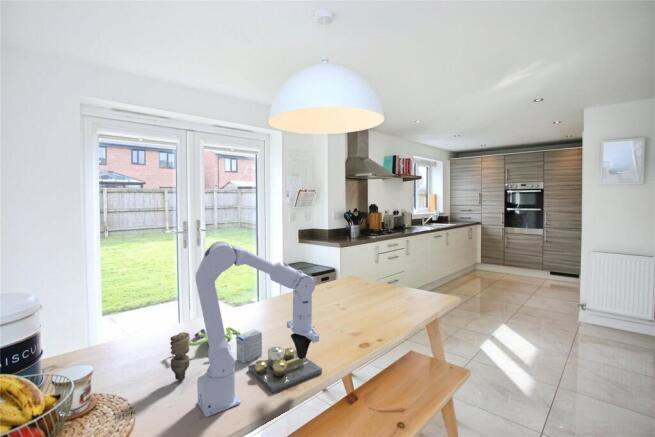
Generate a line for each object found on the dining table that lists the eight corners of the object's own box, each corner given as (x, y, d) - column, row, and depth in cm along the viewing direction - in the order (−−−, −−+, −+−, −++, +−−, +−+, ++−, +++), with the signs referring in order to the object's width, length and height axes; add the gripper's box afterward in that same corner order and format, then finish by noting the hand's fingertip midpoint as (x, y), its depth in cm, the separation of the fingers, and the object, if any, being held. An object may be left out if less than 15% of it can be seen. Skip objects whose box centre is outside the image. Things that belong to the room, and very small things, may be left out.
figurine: (166, 363, 112) (165, 347, 111) (201, 331, 138) (201, 319, 138) (218, 365, 110) (218, 349, 110) (244, 333, 137) (243, 320, 137)
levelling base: (272, 393, 94) (272, 371, 93) (248, 370, 106) (248, 350, 106) (321, 373, 105) (321, 353, 104) (295, 354, 117) (295, 336, 117)
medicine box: (254, 351, 119) (254, 328, 119) (262, 355, 117) (262, 331, 116) (236, 360, 113) (235, 335, 113) (244, 364, 110) (243, 339, 110)
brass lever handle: (277, 377, 99) (277, 368, 99) (270, 371, 102) (270, 362, 102) (307, 365, 106) (307, 357, 106) (300, 360, 109) (300, 352, 109)
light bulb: (193, 376, 103) (192, 329, 102) (186, 386, 97) (185, 337, 96) (175, 376, 103) (174, 330, 102) (167, 386, 97) (166, 337, 96)
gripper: (327, 317, 94) (327, 362, 95) (300, 304, 106) (299, 345, 107) (307, 322, 90) (307, 370, 91) (281, 309, 101) (281, 351, 102)
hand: (301, 357), depth 98 cm, fingers closed
